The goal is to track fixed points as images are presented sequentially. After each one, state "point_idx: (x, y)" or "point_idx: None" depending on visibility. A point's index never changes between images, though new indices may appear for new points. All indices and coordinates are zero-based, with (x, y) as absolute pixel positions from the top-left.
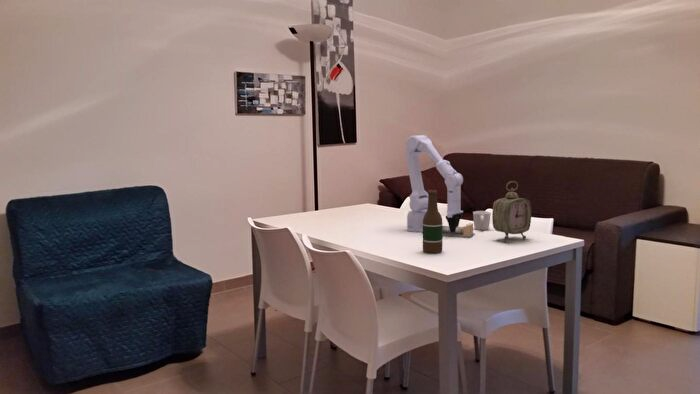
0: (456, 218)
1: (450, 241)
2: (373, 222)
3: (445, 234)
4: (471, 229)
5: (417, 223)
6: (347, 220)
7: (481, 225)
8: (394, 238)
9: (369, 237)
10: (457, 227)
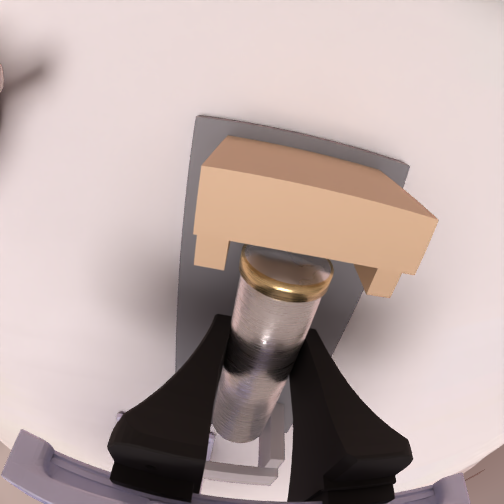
0: (408, 450)
1: (488, 307)
2: None
3: None
4: (313, 165)
5: (201, 487)
6: None
7: (3, 81)
8: None
9: None
10: (291, 342)
